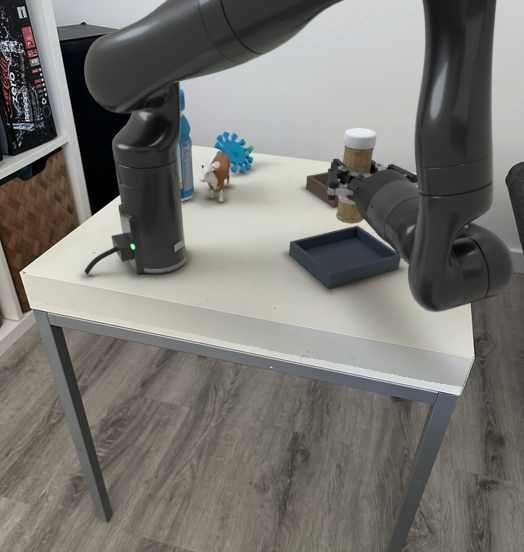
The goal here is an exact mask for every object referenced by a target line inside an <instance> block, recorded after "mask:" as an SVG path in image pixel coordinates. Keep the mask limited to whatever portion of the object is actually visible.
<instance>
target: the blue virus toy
mask: <svg viewBox="0 0 524 552" xmlns="http://www.w3.org/2000/svg"><path fill="white" fill-rule="evenodd" d="M229 137H231V138H229ZM238 137H239V135H237V134H236V133H235V132H233V133H232V134H231V135H230V132H228V131H224V132H223V133H222V134H219V135H217V136H216V138H215V139H216V142H215V143H214V145H213V147H214V149H217V152H216V153H215V156H216V155H218V154H220V153H221V152H223V153H224V154H225V155H227V156H228V158H229V161H230V165H232V166H231V167H230V171H231V172H232V173H234V174H236V173H237V172H238V173H239V174H245V173H246V172H247V171H250V170H251V169H252V168H253V166H252V163H253V162H254V157H253V156H250V154H251V153H252V152H253V151H254V149H255V148H254V146H253V145H250V146H249V147H244V146H245V145H246V144H247V142H246V141H245V139H244V138H242V139H240V140H239V141H236V140H237V139H238ZM238 166H239V169H238Z"/></svg>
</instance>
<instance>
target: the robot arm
mask: <svg viewBox="0 0 524 552" xmlns="http://www.w3.org/2000/svg"><path fill="white" fill-rule="evenodd" d="M344 1H345V0H165V1H164V2H162V3H161V4H160V5H159V6H157V7H156V8H155V9H153V10H152V11H151V12H150V13H148V14H147V15H145V16H144V17H142V18H141V19H139V20H137V21H135V22H133V23H130V24H128V25H126V26H124V27H121V28H120V29H117V30H115V31H112V32H109V33H107V34H105V35H102V36H100V37H98V38H97V39H96V40H94V41H93V42H92V44H91V45H90V47H89V49H88V51H87V54H86V55H85V60H84V67H83V68H84V79H85V84H86V86H87V89H88V91H89V93H90V95H91V96H92V98H93V99H94V101H96V102H97V103H98V104H99V105H100V106H101V107H102V108H104V109H106V110H108V111H110V112H112V113H116V114H131V115H130V117H129V119H128V121H127V123H126V124H125V125H124V126H123V127H122V128H121V129H120V131H119V132H118V133H117V134H116V135H115V136H114V137H113V139H112V142H111V146H112V154H113V160H114V165H115V171H116V172H115V173H116V178H117V179H116V180H117V185H118V191H119V198H120V204H118V213H119V218H120V219H119V220H120V225H121V232H122V233H118V234H112V235H111V241H112V248H110V249H108V250H106V251H104V252H102V253H100V254H98V255H96V257H94V258H93V259H92V260H91V261H90V262H89V263H88V265H87V266H86V267H85V269H84V273H85V274H86V275H89V274H90V273H91V272H92V270H93V268H94V267H95V266H96V264H98V263H99V262H100V261H102V260H103V259H105V258H107V257H109V256H111V255H113V254H114V253H116V254H117V256H118V258H119V259H120V261H121V262H127V261H128V263H129V264H130V266H131V267H132V269H133V270H134V271H135V273H136V274H137V275H141V274H151V275H157V274H166V273H170V272H173V271H176V270H178V269H180V268H181V267H182V266H184V265H185V263H186V262H187V251H186V242H185V230H184V217H183V206H182V201H181V191H180V179H179V166H178V154H177V146H178V142H179V139H180V134H181V114H180V89H181V82H184V81H188V80H193V79H197V78H201V77H205V76H209V75H213V74H217V73H220V72H223V71H227V70H230V69H233V68H236V67H238V66H241V65H244V64H247V63H249V62H251V61H253V60H255V59H258V58H259V57H262V56H264V55H266V54H268V53H271V52H273V51H275V50H276V49H278V48H280V47H282V46H283V45H285V44H287V43H288V42H290V40H292V39H293V38H295V37H296V36H297V35H298V34H300V33H301V32H302V31H303V30H304V29H305V28H306V27H307V26H308V25H309V24H310V23H311V22H312V21H313V20H314V19H316V18H317V17H318V16H319V15H320V14H322V13H323V12H325V11H326V10H328V9H330V8H331V7H333V6H335V5H338V4H339V3H341V2H344ZM421 2H422V8H423V16H424V17H423V18H424V55H423V66H422V75H421V82H420V89H419V95H418V101H417V107H416V114H415V123H414V139H413V140H414V146H413V147H414V162H415V173H416V174H415V173H413V172H412V171H409V170H407V169H405V168H403V167H400V166H398V165H396V164H394V163H390V164H388V165H387V166H384V164H383V163H380V162H379V163H378V162H376V161H375V160H374V159H372V161H371V167H370V174H369V173H364V172H362V171H360V170H358V169H356V168H352V169H349V168H347V167H346V166H345V165H344V164H343V161H342V160H341V159H340V158H333V159H332V161H331V162H330V167H329V168H327V172H328V178H327V185H326V187H327V199H328V200H335V199H336V197H338V196H339V195H346V196H347V198H348V199H349V200H351V201H354V202H355V204H356V207H357V209H358V211H359V213H360V215H361V216H362V217H363V218H364V219H363V221H365V222H366V223H367V225H368V226H369V227H371V229H372V230H373V231H374V232H375V233H376V235H377V236H378V237H379V238H380V239H381V240H382V241H384V243H387V244H388V246H389V247H390V248H391V249H392V250H394V251H395V252H396V253H397V254H398V255H399V256H400V257H401V259H402V261H404V262H405V263H406V264H408V267H407V280H408V281H407V282H408V287H409V290H410V294H411V295H412V298H413V300H414V301H415V302H416V304H418V306H419V307H420V308H422V309H424V310H425V311H428V312H431V313H441V312H442V313H443V312H446V311H450V310H453V309H456V308H460V307H463V306H467V305H470V304H473V303H477V302H480V301H484V300H487V299H490V298H493V297H495V296H498V295H499V294H501V293H503V292H504V291H506V290H507V289H508V288H509V286H510V285H511V284H512V282H513V279H514V276H515V271H516V269H515V266H516V265H515V259H514V256H513V253H512V251H511V250H510V248H509V246H508V245H507V243H506V241H504V239H502V238H501V237H500V236H499V235H498V234H497V233H495V232H494V231H493V230H490V229H489V228H487V227H485V226H482V225H480V224H477V223H474V222H473V221H475V220H477V219H479V218H481V217H482V216H483V215H485V214H486V213H487V212H488V211H489V210H490V209H491V207H492V205H493V202H494V146H493V145H494V143H493V105H492V104H493V103H492V101H493V98H492V97H493V96H492V95H493V92H492V91H493V88H492V87H493V60H494V59H493V58H494V37H495V24H496V12H497V11H496V10H497V0H422V1H421ZM345 178H346V179H345Z"/></svg>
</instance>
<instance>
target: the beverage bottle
mask: <svg viewBox="0 0 524 552" xmlns="http://www.w3.org/2000/svg"><path fill="white" fill-rule="evenodd" d="M185 109H186V100H185V92H184V90H183V89H182V88H180V114H181V134H180V139H179V142H178V146H177V154H178V166H179V179H180V191H181V202H184V201H187V200H189V199H191V198H192V197H193V196H194V194H195V186H194V170H193V169H194V167H193V151H192V149H193V140H192V138H191V136H190V133H191V126H190V123H189V120H188V118H187V117H186V115H185V114H184V113H183V112H184V111H185Z"/></svg>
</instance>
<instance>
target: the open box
mask: <svg viewBox="0 0 524 552" xmlns="http://www.w3.org/2000/svg"><path fill="white" fill-rule="evenodd" d="M327 178H328V171H326V172H321V173H316V174H310V175H306V184H305V189H306V190H307V191H308V192H310V193H311V194H313V195H315V197H317V198H319V199H320V200H322V201H323V202H325V203H326V204H328V205H329V206H330V207H332V208H338V202H339V196H338V197H336V199H335V200H328V199H327V187H326V185H327Z"/></svg>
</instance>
